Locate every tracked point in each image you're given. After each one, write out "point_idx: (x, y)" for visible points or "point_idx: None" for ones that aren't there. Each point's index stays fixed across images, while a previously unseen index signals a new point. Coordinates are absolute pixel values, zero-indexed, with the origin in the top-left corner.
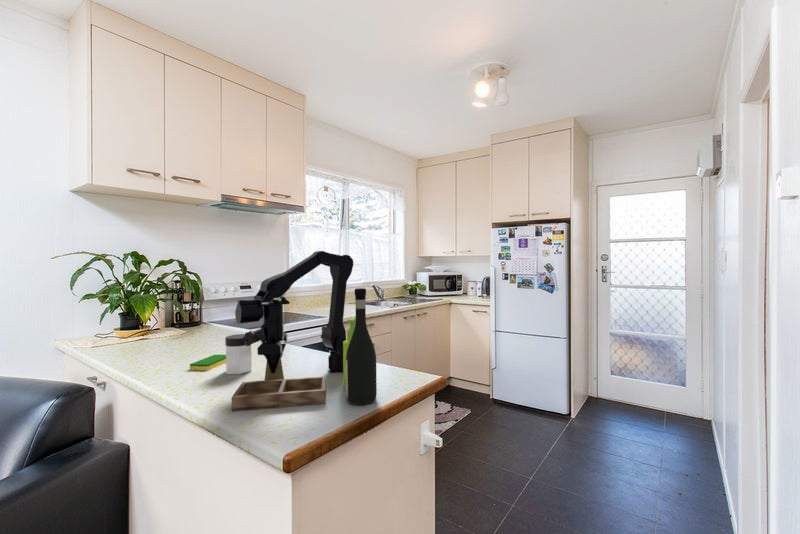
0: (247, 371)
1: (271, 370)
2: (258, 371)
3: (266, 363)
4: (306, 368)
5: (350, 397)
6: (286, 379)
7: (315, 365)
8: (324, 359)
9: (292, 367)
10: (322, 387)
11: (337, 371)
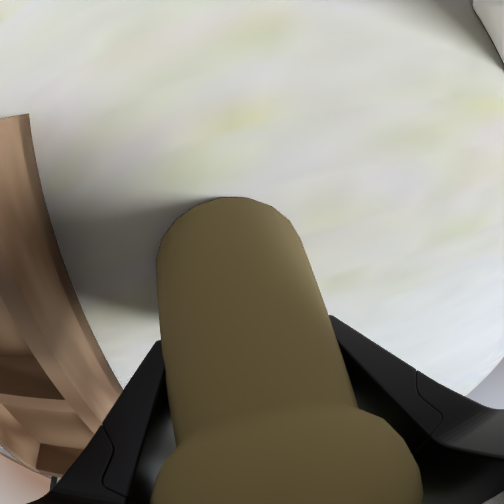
0: (500, 52)
1: (145, 367)
2: (501, 111)
3: (240, 354)
4: (447, 337)
5: (52, 480)
6: (85, 412)
7: (459, 352)
8: (493, 350)
9: (488, 275)
10: (48, 472)
11: None
